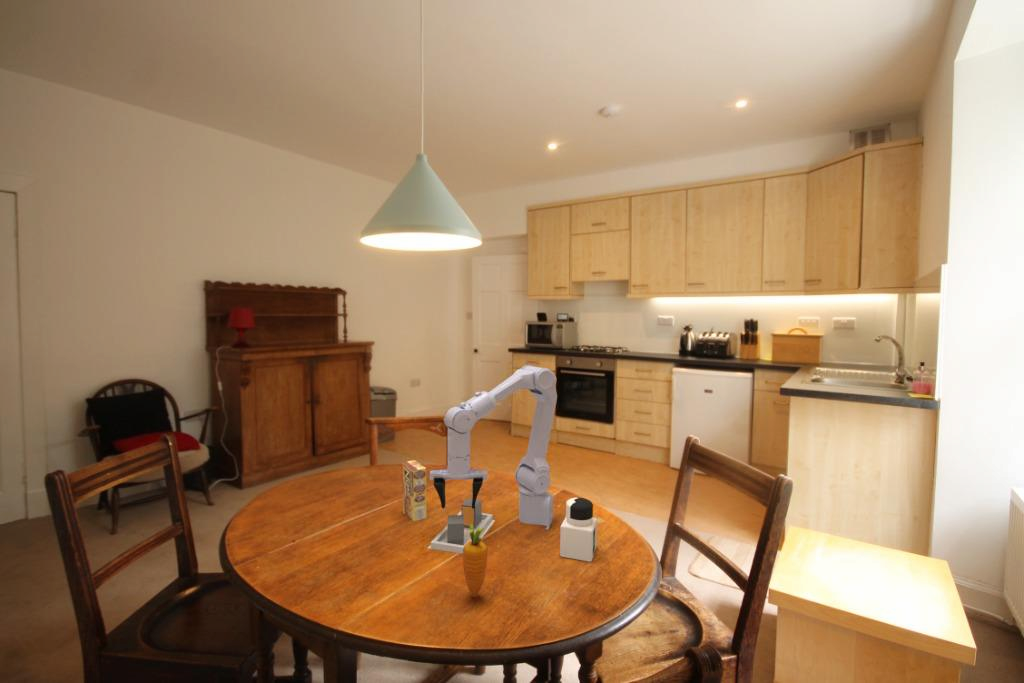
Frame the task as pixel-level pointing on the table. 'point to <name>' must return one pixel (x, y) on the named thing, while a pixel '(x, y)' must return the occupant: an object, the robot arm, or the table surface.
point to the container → (578, 530)
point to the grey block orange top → (455, 529)
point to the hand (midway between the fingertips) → (458, 506)
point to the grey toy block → (471, 513)
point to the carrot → (475, 561)
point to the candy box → (414, 490)
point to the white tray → (441, 538)
